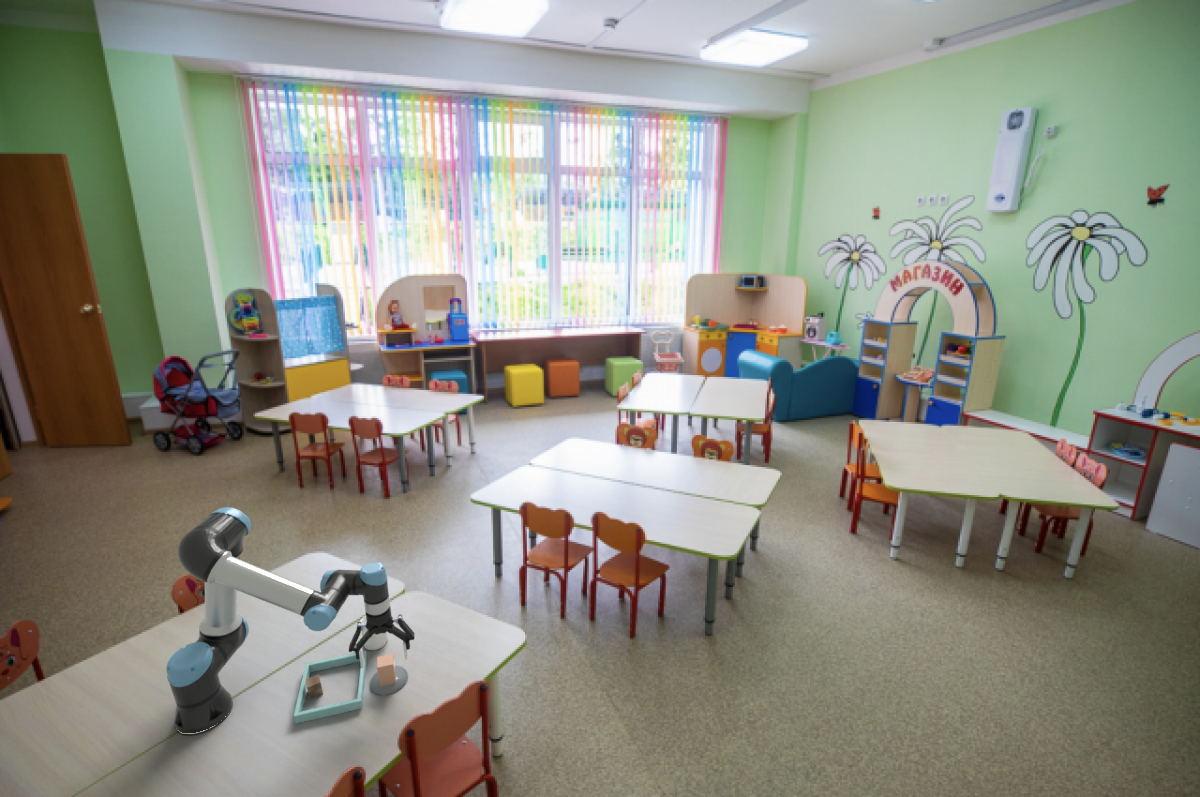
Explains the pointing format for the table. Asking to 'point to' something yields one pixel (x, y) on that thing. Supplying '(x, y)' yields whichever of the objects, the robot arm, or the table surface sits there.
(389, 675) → the painted box
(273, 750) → the table surface
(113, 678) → the table surface
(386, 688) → the grey dome puck
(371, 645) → the cup
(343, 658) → the corral
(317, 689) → the walnut block
